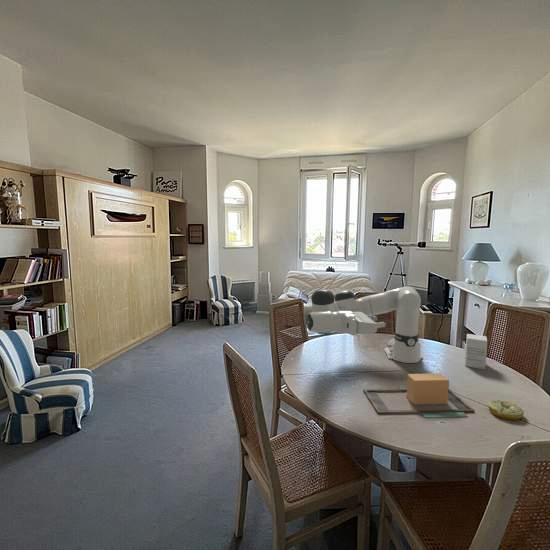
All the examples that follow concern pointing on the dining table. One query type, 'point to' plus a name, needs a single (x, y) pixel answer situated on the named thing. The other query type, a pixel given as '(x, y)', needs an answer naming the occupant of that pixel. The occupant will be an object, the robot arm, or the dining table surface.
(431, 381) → the orange block
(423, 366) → the dining table surface
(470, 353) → the supplement box
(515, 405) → the decorated donut
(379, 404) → the trap lane
